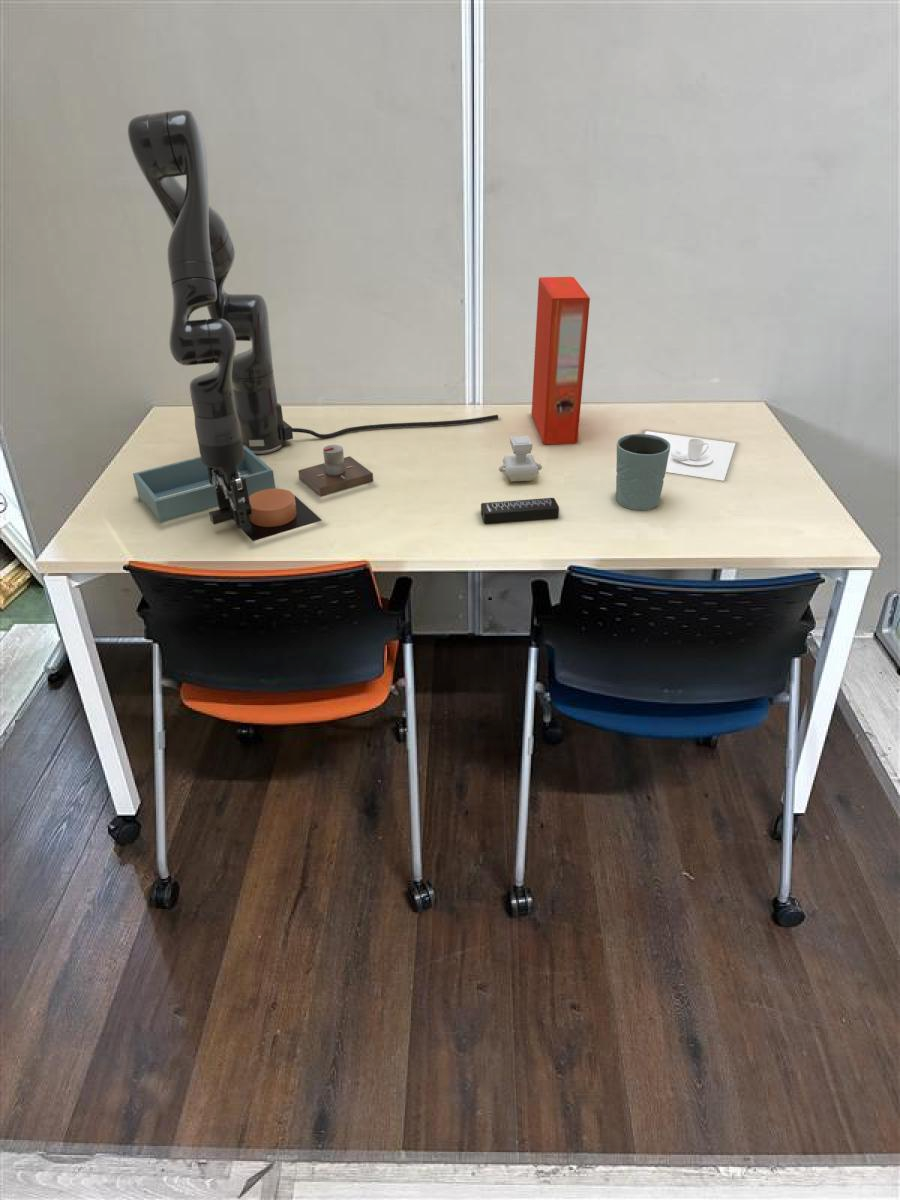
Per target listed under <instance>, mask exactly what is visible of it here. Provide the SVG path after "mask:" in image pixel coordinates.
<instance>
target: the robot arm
mask: <svg viewBox="0 0 900 1200" xmlns="http://www.w3.org/2000/svg"><path fill="white" fill-rule="evenodd" d="M127 125H128V126H127V138H128V142H129V146H130V149H131V152H132V154H133V155H132V156H133V157H134V159H135V162H136V163H137V166H138V168H139V170H140V171H141V173H142V175H143V177H144V179H145V181H146V182H147V184H148V185H149V187H150V189H151V191H152V193H153V195H154V196H155V197H156V200H157V201H158V202H159V204H160V206H161V208H162V210H163V212H164V214H165V216H166V219H167V220H168V223H169V225H170V228H171V229H172V231H171V234H170V237H169V240H168V244H167V256H166V257H167V266H168V273H169V279H170V285H171V290H172V317H171V324H170V330H169V331H170V332H169V340H168V344H169V350H170V353H171V356H172V357H173V359H174V360H175V361H176V362H177V363H178V364H180V365H181V366H186V367H188V366H190V367H191V366H199V365H209V364H217V365H216V366H215V368H214V369H213V370H212V371H210V372H207V373H204V374H202V375H198V376H196V377H194V378H192V379H191V381H190V383H189V394H190V398H191V405H192V409H193V414H194V427H195V433H196V439H197V443H198V444H197V445H198V451H199V454H200V457H201V460H202V463H203V464H204V465H206V466H207V469H208V475H209V482H210V484H209V485H213V489H214V490H215V491H217V492H216V495H217V501H218V508H219V509H223V508H226V507H230V506H232V509H233V515H234V520H235V522H234V525H235V527H236V528H237V529H241V528H242V527H245V526H247V525H248V519H247V513H246V509H248V508H250V501H249V496H248V490H247V485H246V479H245V477H243V476H241V475H240V472H239V470H237V468H236V466H237V465H238V464H239V463H240V462H242V461H243V459H244V449H243V446H246V447H247V448H248V449H250V450H251V451H252V452H253V453H254V454H255V455H265V454H270V453H274V452H277V451H278V450H280V449H281V448H282V447H286V446H287V441H290V440H294V436H293V433H301V434H308V435H312V436H313V437H315V438H318V439H331V438H335V437H337V436H341V435H343V434H345V433H346V434H347V433H351V432H356V431H364V430H375V429H376V430H377V429H389V428H408V427H409V428H410V427H433V426H434V427H435V426H451V425H462V424H463V425H464V424H472V423H480V422H485V421H490V420H491V421H492V420H496V419H499V415H498V414H492V415H487V416H481V417H472V418H467V419H454V420H440V421H438V420H437V421H416V422H415V421H414V422H393V423H380V424H379V423H378V424H367V425H358V426H351V427H346V428H342V429H339V430H337V431H334V432H330V433H318V432H316V431H314V430H311V429H309V428H308V429H307V428H298V427H292V426H291V425H290V424H289V423H287V422H286V421H285V420H284V417H283V416H284V415H283V408H282V405H281V404H280V403H279V402H278V396H277V389H276V381H275V375H274V367H273V354H272V353H273V351H272V344H271V335H270V334H271V333H270V322H269V321H270V319H269V311H268V305H267V303H266V301H265V298H264V297H263V296H262V295H260V294H255V293H253V294H251V293H247V294H245V293H238V294H237V293H228V292H227V291H225V289H224V285H225V282H226V280H227V278H228V276H229V275H230V273H231V271H232V268H233V265H234V262H235V255H236V250H235V245H234V242H233V240H232V237H231V235H230V232H229V229H228V227H227V225H226V223H225V220H224V219H223V218H222V216H221V215H220V214H219V213H218V212H217V211H216V210H215V209H214V208H213V207H212V206H210V204H209V203H210V202H209V201H210V200H209V181H208V180H209V177H208V175H209V174H208V160H207V150H206V143H205V139H204V135H203V131H202V128H201V126H200V123H199V121H198V119H197V117H196V115H195V114H193V112H192V111H190V110H189V109H176V110H175V109H174V110H167V111H161V112H155V113H146V114H141V115H138V116H135V117H133V118H131V119H130V120H129V122H128V124H127ZM182 176H183V177H184V176H185V180H186V183H185V187H184V186H183V185H182V184H181V183H180V182H179V180H177V178H176V177H182ZM203 308H206V309H207V312H208V314H209V317H210V318H208V319H207V318H203V319H192V320H190V318H191V315H192V314H193V313H194V312H195V311H197V310H201V309H203ZM237 342H251V348H249V349H248V350H246V351H243V352H240V353H237V354H235V353H236V344H237ZM229 491H232V493H229ZM239 498H240V500H239V501H238V499H239ZM219 509H218V510H219Z"/></svg>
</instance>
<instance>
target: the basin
mask: <svg viewBox="0 0 900 1200" xmlns="http://www.w3.org/2000/svg"><path fill="white" fill-rule="evenodd" d="M243 449H244V459H243V461H242V462H240V463H239V464H238V465H237V466H236V468H237V470H239V472H240V475H241V477H245V479H246V485H247V490H248V496H250V495H252V494H254V493H256V492H258V491H261V490H266V489H276V483H275V476H274V470H273V469H272V468H271V467H270V466H269V465H268V464H267V463H266V462H264V461H263V459H261V458H260V457H259V456H258V455H257V454H254V453H253V452H252V451H251V450H250V449H248V448H247V447H246V446H243ZM132 476H133V480H134V484H135V488H136V493H137V496H138V500H139V501H140V502H141V503H144V504H145V505H146V507H147V508H148V509H149V510H150V512H151V513H152V514H153V515H154V517H155V518H156V519H157V520H158V522H159V523H164V522H167V521H171V520H175V519H178V518H181V517H185V516H190V515H192V514H197V513H199V512H204V511H207V510H210V509H213V508H219V506H218V501H217V495H216V492H217V491H215V490H214V489H213V484H212V485H211V484H210V482H209V475H208V469H207V466H206V465H204V464H203V463H202V460H201V456H196V457H193V458H189V459H185V460H181V461H178V462H173V463H170V464H165V465H161V466H157V467H154V468H149V469H145V470H141V471H137V472H133V473H132ZM229 493H232V491H229ZM238 501H239V502H240V501H241V500H240V498H239V499H238Z"/></svg>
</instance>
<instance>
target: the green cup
mask: <svg viewBox="0 0 900 1200" xmlns="http://www.w3.org/2000/svg"><path fill="white" fill-rule="evenodd" d="M669 452H670V443H669V442H668V441H667V440H665V439H663V438H661V437H658V436H654V435H649V434H645V433H633V434H627V435H624V436H621V437H620V438H619V439H617V442H616V477H615V478H616V481H615V502H616V503H617V504H618V505H619V506H620V507H623V508H625V509H629V510H631V511H649V510H653V509H655V508H656V507H658V506H659V504H660V502H661V496H662V492H663V487H664V482H665V481H664V480H665V477H666V473H667V472H666V467H667V462H668V457H669Z"/></svg>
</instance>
